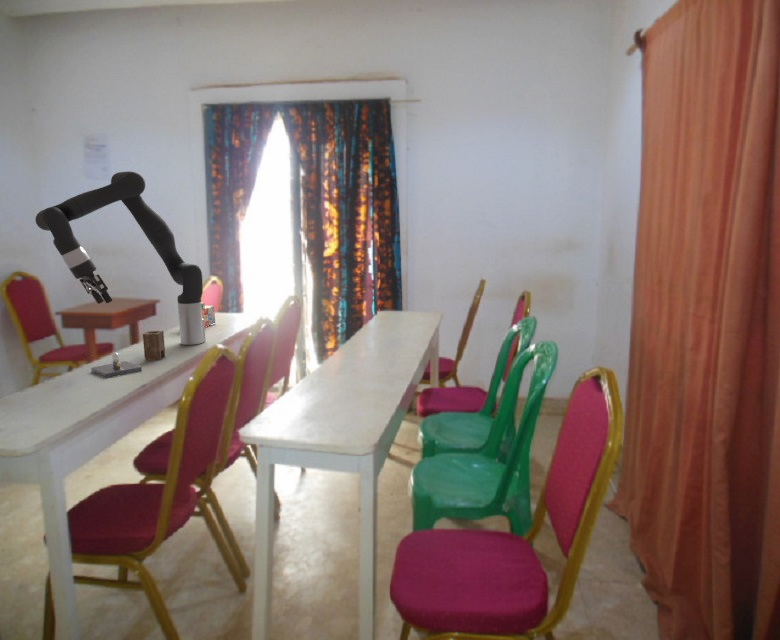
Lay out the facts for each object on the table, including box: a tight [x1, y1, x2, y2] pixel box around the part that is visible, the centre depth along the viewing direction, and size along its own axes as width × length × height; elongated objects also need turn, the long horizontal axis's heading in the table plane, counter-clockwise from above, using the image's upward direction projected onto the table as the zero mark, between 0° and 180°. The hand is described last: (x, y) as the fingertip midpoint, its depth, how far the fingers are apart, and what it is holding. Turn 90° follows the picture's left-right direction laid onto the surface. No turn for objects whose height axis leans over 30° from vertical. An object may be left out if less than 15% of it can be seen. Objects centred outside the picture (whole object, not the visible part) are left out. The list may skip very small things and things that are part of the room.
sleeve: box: [142, 330, 166, 361], centre depth 220 cm, size 6×6×10 cm
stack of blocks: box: [201, 302, 216, 328], centre depth 278 cm, size 21×6×12 cm, turn 169°
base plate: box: [90, 352, 142, 379], centre depth 203 cm, size 12×12×6 cm
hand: (105, 302), depth 209 cm, fingers open, 8 cm apart
